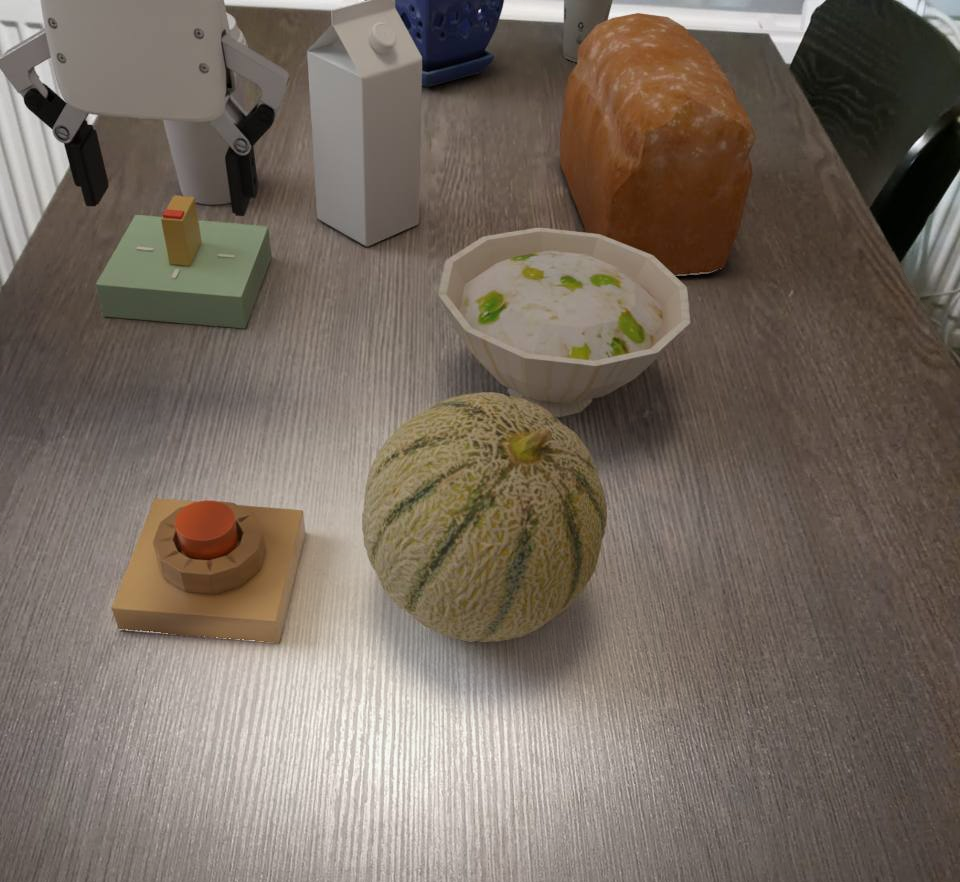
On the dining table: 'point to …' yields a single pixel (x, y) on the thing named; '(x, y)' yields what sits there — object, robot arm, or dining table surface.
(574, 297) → the bowl
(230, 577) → the tan square stand
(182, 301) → the plate
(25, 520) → the dining table surface
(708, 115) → the bread
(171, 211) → the wooden block red tab
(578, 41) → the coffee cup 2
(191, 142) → the coffee cup
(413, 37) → the flower pot
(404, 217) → the milk carton
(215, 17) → the robot arm
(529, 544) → the cantaloupe
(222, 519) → the bell button
